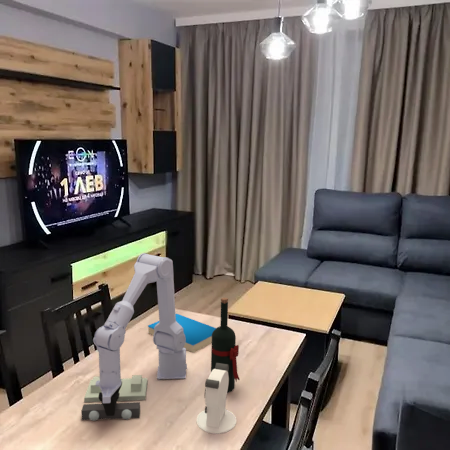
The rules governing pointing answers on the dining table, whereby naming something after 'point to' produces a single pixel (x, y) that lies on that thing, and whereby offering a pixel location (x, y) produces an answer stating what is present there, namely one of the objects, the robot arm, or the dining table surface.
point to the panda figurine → (216, 403)
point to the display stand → (128, 391)
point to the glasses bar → (121, 412)
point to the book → (192, 333)
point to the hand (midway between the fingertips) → (111, 411)
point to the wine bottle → (225, 346)
